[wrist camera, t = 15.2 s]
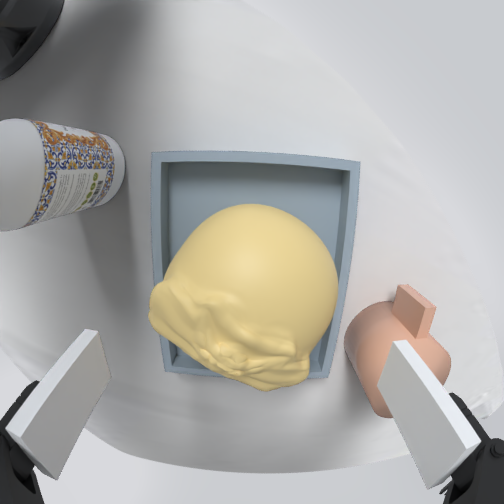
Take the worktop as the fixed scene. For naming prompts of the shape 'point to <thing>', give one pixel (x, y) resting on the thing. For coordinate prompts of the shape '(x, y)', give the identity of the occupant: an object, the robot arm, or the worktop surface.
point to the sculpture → (248, 296)
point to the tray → (253, 192)
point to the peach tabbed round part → (393, 329)
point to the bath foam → (54, 171)
